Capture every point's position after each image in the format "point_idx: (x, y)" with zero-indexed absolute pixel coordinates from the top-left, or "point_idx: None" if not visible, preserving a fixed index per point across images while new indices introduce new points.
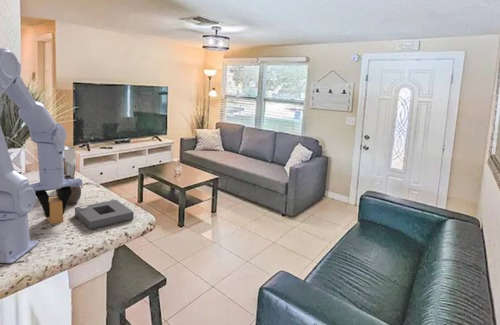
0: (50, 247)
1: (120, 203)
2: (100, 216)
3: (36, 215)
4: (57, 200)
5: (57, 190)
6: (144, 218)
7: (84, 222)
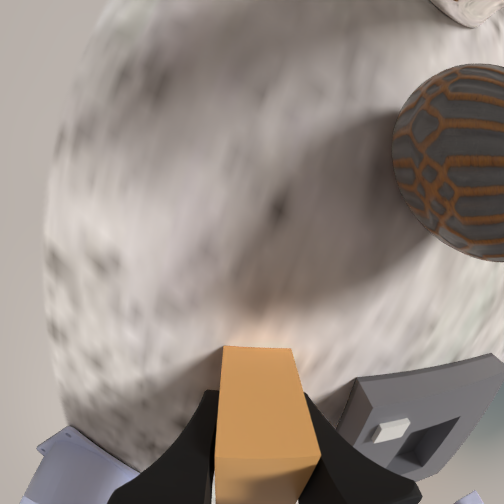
0: None
1: (483, 412)
2: None
3: (187, 262)
4: (275, 500)
5: (340, 498)
6: None
7: None
